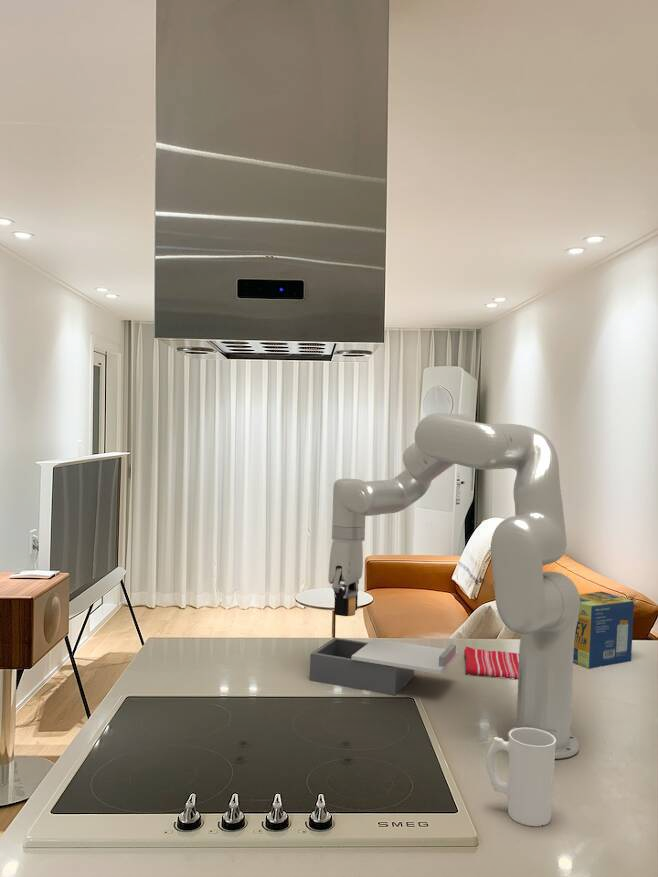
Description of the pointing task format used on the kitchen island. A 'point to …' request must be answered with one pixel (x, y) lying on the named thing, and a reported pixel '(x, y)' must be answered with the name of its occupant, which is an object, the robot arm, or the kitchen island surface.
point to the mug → (526, 774)
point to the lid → (407, 655)
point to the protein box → (603, 630)
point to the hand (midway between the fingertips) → (345, 611)
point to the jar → (351, 602)
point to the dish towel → (491, 663)
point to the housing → (355, 669)
